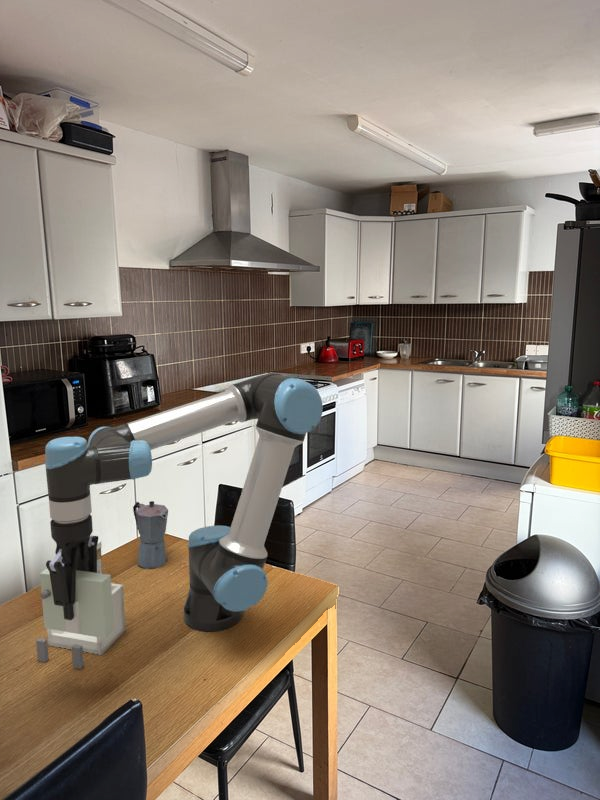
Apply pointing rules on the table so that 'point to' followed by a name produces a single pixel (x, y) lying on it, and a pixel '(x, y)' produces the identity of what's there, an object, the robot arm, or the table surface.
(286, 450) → the robot arm
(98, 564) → the sprinkles bottle
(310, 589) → the table surface
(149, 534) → the moka pot
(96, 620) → the door
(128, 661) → the table surface
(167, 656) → the table surface
